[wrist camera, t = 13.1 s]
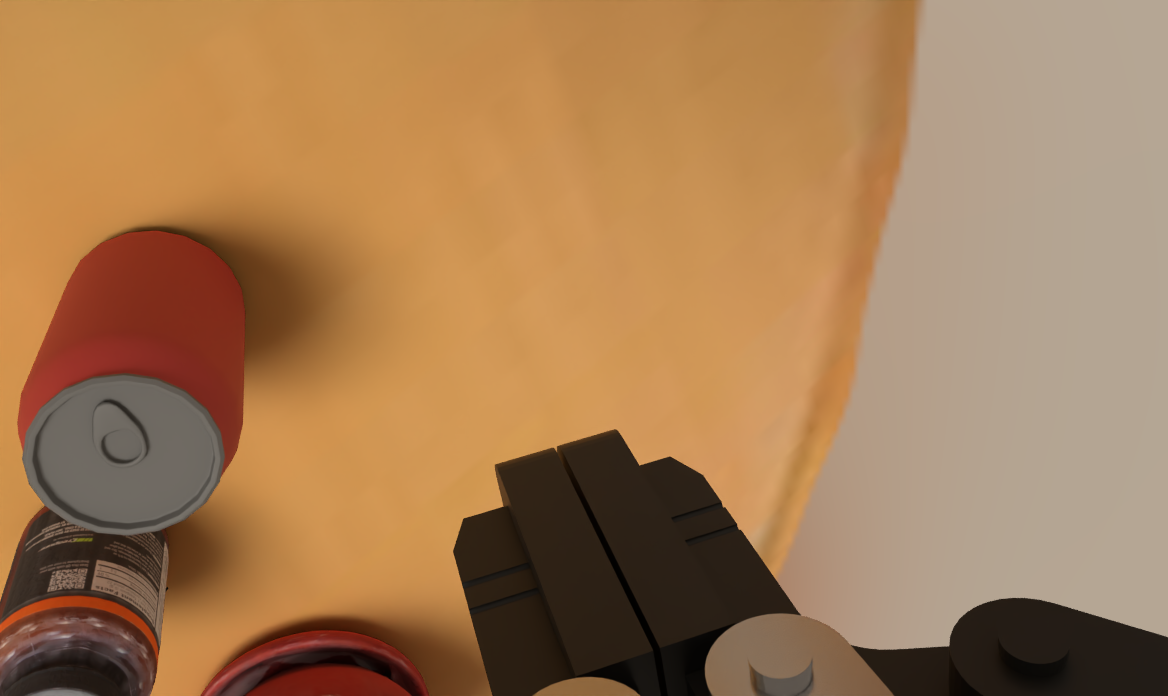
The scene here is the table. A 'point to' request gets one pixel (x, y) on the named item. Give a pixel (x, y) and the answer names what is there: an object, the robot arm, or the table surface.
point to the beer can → (137, 386)
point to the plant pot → (320, 668)
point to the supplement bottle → (82, 611)
